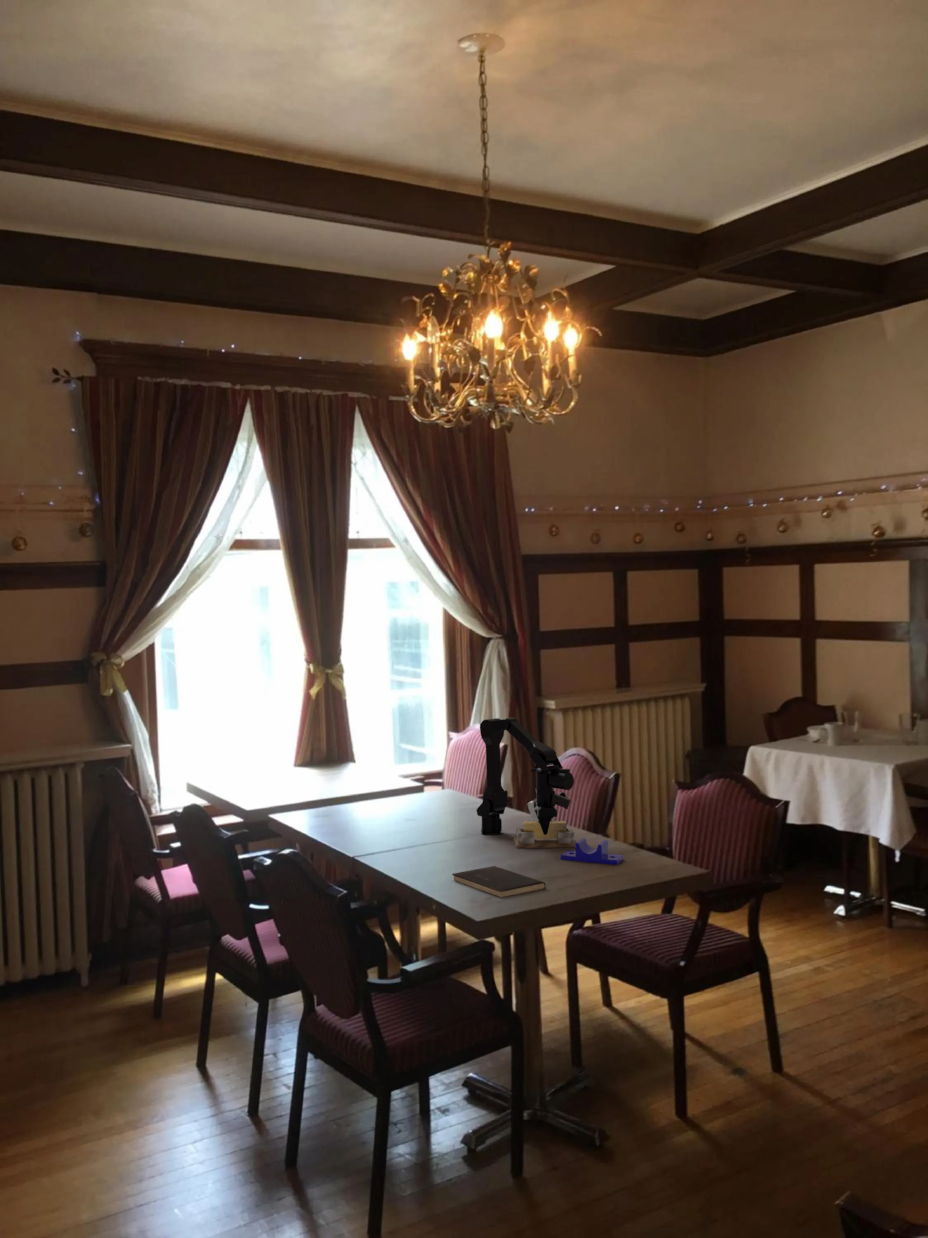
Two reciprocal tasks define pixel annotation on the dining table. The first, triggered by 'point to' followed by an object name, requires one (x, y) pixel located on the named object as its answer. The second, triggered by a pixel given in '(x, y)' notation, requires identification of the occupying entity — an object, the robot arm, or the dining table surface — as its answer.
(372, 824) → the dining table surface
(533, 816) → the grey curved slab
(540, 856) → the dining table surface
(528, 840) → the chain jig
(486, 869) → the hardcover book
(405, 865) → the dining table surface
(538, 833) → the brass link
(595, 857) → the mounting bracket
